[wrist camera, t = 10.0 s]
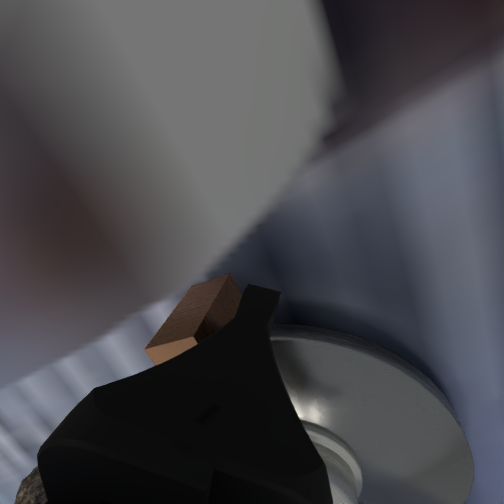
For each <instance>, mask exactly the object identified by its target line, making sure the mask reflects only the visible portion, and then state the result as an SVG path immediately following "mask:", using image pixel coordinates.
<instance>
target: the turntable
mask: <svg viewBox="0 0 504 504" xmlns="http://www.w3.org/2000/svg"><path fill="white" fill-rule="evenodd" d="M241 297H242V294H241V293H240V291H239V289H238V287H237V285H236V284H235V282H234V280H233V278H232V276H231V274H230V273H229V274H226V275H223V276H220V277H217V278H214V279H211V280H208V281H205V282H203V283H200V284H197V285H194V286H191V288H190V289H189V290H188V292H187V293H186V294H185V296H184V297H183V298H182V300H181V301H180V302H179V304H178V305H177V306H176V308H175V309H174V310H173V312H172V313H171V314H170V316H169V317H168V318H167V320H166V321H165V322H164V324H163V325H162V326H161V328H160V329H159V330H158V332H157V333H156V334H155V336H154V337H153V338H152V340H151V341H150V342H149V344H148V345H147V346H146V348H145V349H144V350H145V352H146V353H147V354H148V356H149V357H150V359H151V360H152V361H153V363H154V364H155V366H156V365H158V364H161V363H163V362H165V361H167V360H169V359H171V358H173V357H175V356H177V355H179V354H181V353H183V352H184V351H186V350H188V349H190V348H191V347H193V346H195V345H197V344H198V343H200V342H201V341H203V340H204V339H206V338H208V337H209V336H210V335H212V334H213V333H215V332H216V331H217V330H219V329H220V328H221V327H223V326H224V325H225V324H226V323H228V322H229V321H230V320H231V319H233V318H234V317H235V316H236V313H237V310H238V307H239V303H240V300H241ZM270 340H271V344H272V348H273V352H274V356H275V359H276V362H277V366H278V369H279V372H280V374H281V377H282V380H283V383H284V385H285V387H286V390H287V392H288V394H289V396H290V399H291V401H292V403H293V406H294V408H295V410H296V412H297V414H298V416H299V418H300V420H301V421H304V422H308V423H312V424H315V425H318V426H320V427H323V428H325V429H327V430H329V431H331V432H333V433H334V434H336V435H338V436H339V437H340V438H342V439H343V440H344V441H345V442H346V443H347V444H349V445H350V447H351V448H352V449H353V450H354V452H355V453H356V455H357V456H358V459H359V461H360V465H361V472H362V481H363V482H362V490H361V493H360V495H359V497H358V498H357V501H358V504H464V503H465V501H466V499H467V498H468V496H469V494H470V491H471V488H472V484H473V480H474V463H473V458H472V454H471V449H470V447H469V444H468V442H467V440H466V437H465V435H464V432H463V430H462V428H461V425H460V423H459V420H458V418H457V416H456V414H455V412H454V409H453V407H452V406H451V404H450V403H449V401H448V400H447V398H446V397H445V395H444V394H443V392H442V391H441V390H440V389H439V388H438V387H437V386H436V385H435V384H434V383H433V382H432V381H431V380H430V379H429V378H428V377H427V376H426V375H425V374H424V373H422V372H421V371H420V370H419V369H417V368H416V367H415V366H414V365H412V364H411V363H409V362H408V361H406V360H405V359H403V358H401V357H400V356H398V355H397V354H395V353H393V352H392V351H390V350H387V349H385V348H383V347H381V346H379V345H377V344H375V343H373V342H371V341H368V340H365V339H362V338H359V337H357V336H354V335H351V334H348V333H344V332H340V331H336V330H332V329H328V328H322V327H315V326H308V325H297V324H273V327H272V331H271V336H270Z"/></svg>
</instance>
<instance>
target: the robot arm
mask: <svg viewBox="0 0 504 504" xmlns="http://www.w3.org/2000/svg"><path fill="white" fill-rule="evenodd" d="M280 293H281V292H278V291H274V290H270V289H266V288H263V287H259V286H255V285H251V284H249V285H248V286H247V288H246V289H245V291H244V292H243V295H242V297H241V300H240V303H239V307H238V310H237V313H236V316H235V317H234V318H233V319H231V320H230V321H229V322H228V323H226V324H225V325H224V326H223V327H221V328H220V329H219V330H217V331H216V332H215V333H213V334H212V335H210V336H209V337H208V338H206V339H204V340H203V341H201V342H200V343H198V344H197V345H195V346H193V347H191V348H190V349H188V350H186V351H184V352H183V353H181V354H179V355H177V356H175V357H173V358H171V359H169V360H167V361H165V362H163V363H161V364H158V365H156V366H154V367H152V368H149V369H147V370H145V371H143V372H140V373H138V374H135V375H132V376H129V377H126V378H124V379H121V380H118V381H115V382H112V383H109V384H106V385H103V386H100V387H96V388H94V389H93V390H92V391H91V392H90V393H89V394H88V395H87V396H86V397H85V398H84V399H83V400H82V401H81V402H79V403H78V404H77V406H76V407H75V408H74V409H73V410H72V411H71V412H70V413H69V414H68V415H67V416H66V418H65V419H64V420H63V421H62V422H61V423H60V425H59V426H58V427H57V428H56V429H55V430H54V432H53V433H52V434H51V435H50V436H49V438H48V439H47V440H46V441H45V442H44V443H43V445H42V446H41V447H40V450H39V452H38V454H37V460H38V470H39V473H40V476H41V480H42V483H43V487H44V490H45V493H46V497H47V502H46V503H45V504H333V498H332V493H331V487H330V482H329V478H328V473H327V469H326V464H325V462H324V461H323V459H322V458H321V456H320V454H319V453H318V451H317V449H316V448H315V446H314V444H313V442H312V441H311V439H310V437H309V435H308V433H307V432H306V430H305V428H304V426H303V424H302V422H301V420H300V418H299V416H298V414H297V412H296V410H295V408H294V406H293V403H292V401H291V399H290V396H289V394H288V392H287V390H286V387H285V385H284V383H283V380H282V377H281V374H280V372H279V369H278V366H277V362H276V359H275V356H274V352H273V348H272V344H271V340H270V336H271V331H272V327H273V323H274V319H275V314H276V310H277V306H278V302H279V297H280Z"/></svg>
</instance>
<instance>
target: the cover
mask: <svg viewBox="0 0 504 504" xmlns="http://www.w3.org/2000/svg"><path fill="white" fill-rule="evenodd" d="M301 422H302V424H303V426H304V428H305V430H306V432H307V433H308V435H309V437H310V439H311V441H312V442H313V444H314V446H315V448H316V449H317V451H318V453H319V454H320V456H321V458H322V459H323V461H324V462H325V464H326V469H327V473H328V478H329V482H330V487H331V493H332V498H333V504H358V501H357V498H358V497H359V495H360V493H361V490H362V482H363V481H362V472H361V465H360V461H359V459H358V456H357V455H356V453H355V452H354V450H353V449H352V448H351V447H350V445H349V444H347V443H346V442H345V441H344V440H343V439H342V438H340V437H339V436H338V435H336V434H334V433H333V432H331V431H329V430H327V429H325V428H323V427H320V426H318V425H315V424H312V423H308V422H304V421H301Z"/></svg>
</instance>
